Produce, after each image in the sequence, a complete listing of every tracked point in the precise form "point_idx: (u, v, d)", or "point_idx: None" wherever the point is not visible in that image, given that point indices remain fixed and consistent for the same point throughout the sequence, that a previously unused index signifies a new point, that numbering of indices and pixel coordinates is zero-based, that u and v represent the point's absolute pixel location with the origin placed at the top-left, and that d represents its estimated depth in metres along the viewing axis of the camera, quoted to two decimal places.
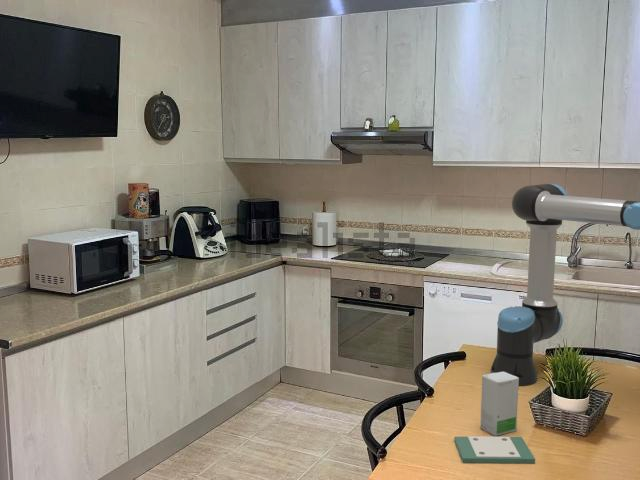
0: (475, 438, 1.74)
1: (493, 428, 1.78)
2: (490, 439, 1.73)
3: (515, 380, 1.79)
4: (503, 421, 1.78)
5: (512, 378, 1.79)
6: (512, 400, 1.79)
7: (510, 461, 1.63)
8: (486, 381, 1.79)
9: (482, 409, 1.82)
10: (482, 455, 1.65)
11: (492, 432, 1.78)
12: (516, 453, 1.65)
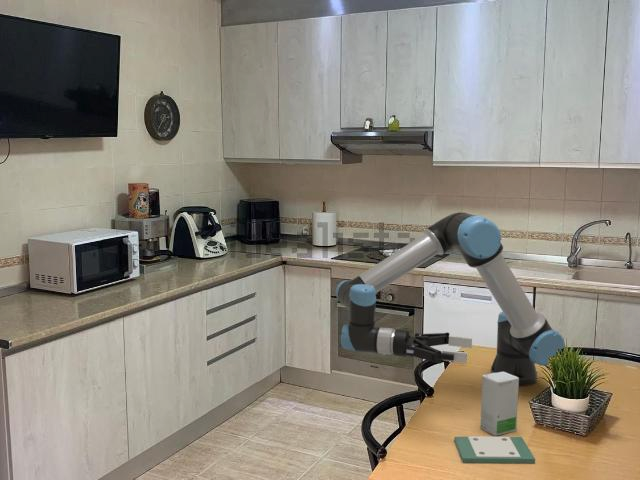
0: (475, 438, 1.74)
1: (493, 428, 1.78)
2: (490, 439, 1.73)
3: (515, 380, 1.79)
4: (503, 421, 1.78)
5: (512, 378, 1.79)
6: (512, 400, 1.79)
7: (510, 461, 1.63)
8: (486, 381, 1.79)
9: (482, 409, 1.82)
10: (482, 455, 1.65)
11: (492, 432, 1.78)
12: (516, 453, 1.65)
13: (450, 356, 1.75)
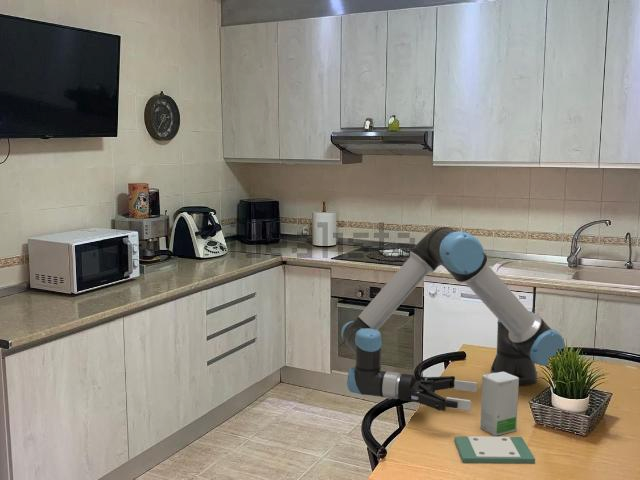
0: (475, 438, 1.74)
1: (493, 428, 1.78)
2: (490, 439, 1.73)
3: (515, 380, 1.79)
4: (503, 421, 1.78)
5: (512, 378, 1.79)
6: (512, 400, 1.79)
7: (510, 461, 1.63)
8: (486, 381, 1.79)
9: (482, 409, 1.82)
10: (482, 455, 1.65)
11: (492, 432, 1.78)
12: (516, 453, 1.65)
13: (454, 404, 1.77)
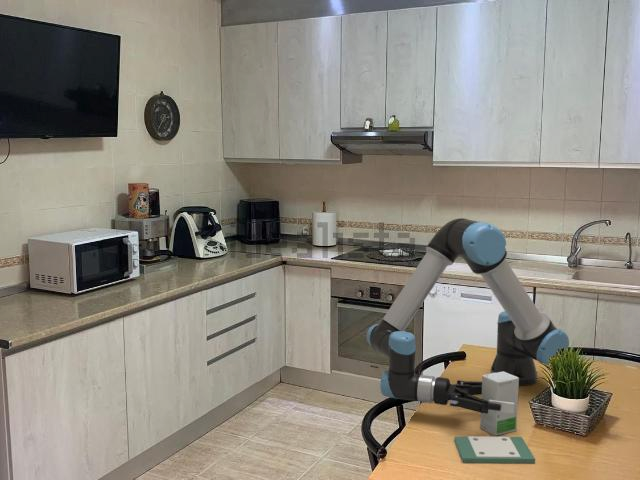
0: (475, 438, 1.74)
1: (493, 428, 1.78)
2: (490, 439, 1.73)
3: (515, 380, 1.79)
4: (503, 421, 1.78)
5: (512, 378, 1.79)
6: (512, 400, 1.79)
7: (510, 461, 1.63)
8: (486, 381, 1.79)
9: None
10: (482, 455, 1.65)
11: (492, 432, 1.78)
12: (516, 453, 1.65)
13: (497, 406, 1.75)
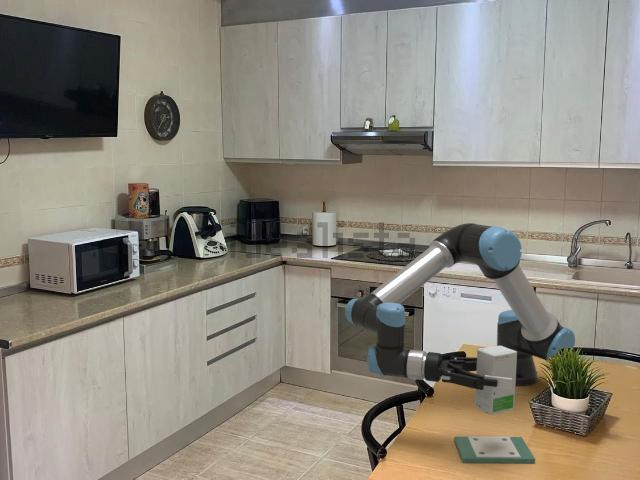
0: (475, 438, 1.74)
1: (488, 407, 1.63)
2: (490, 439, 1.73)
3: (513, 354, 1.64)
4: (500, 399, 1.64)
5: (510, 352, 1.64)
6: (509, 376, 1.64)
7: (510, 461, 1.63)
8: (481, 355, 1.65)
9: None
10: (482, 455, 1.65)
11: (488, 410, 1.64)
12: (516, 453, 1.65)
13: (493, 382, 1.60)
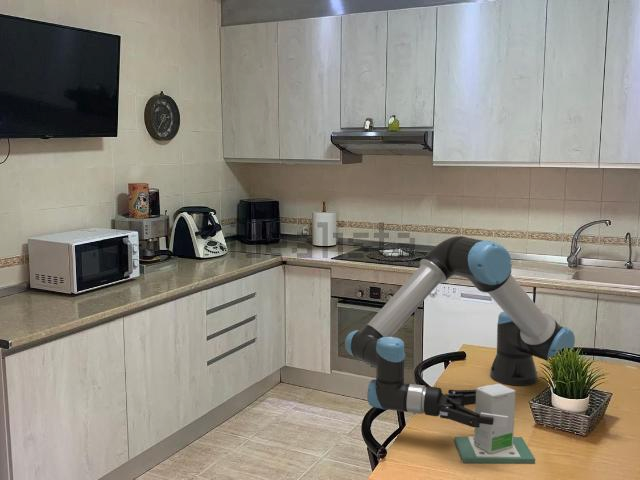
0: None
1: (487, 445, 1.65)
2: None
3: (512, 393, 1.66)
4: (499, 438, 1.66)
5: (508, 391, 1.66)
6: (508, 415, 1.66)
7: (510, 461, 1.63)
8: (480, 394, 1.67)
9: None
10: (482, 455, 1.65)
11: (486, 449, 1.66)
12: (516, 453, 1.65)
13: (489, 420, 1.61)
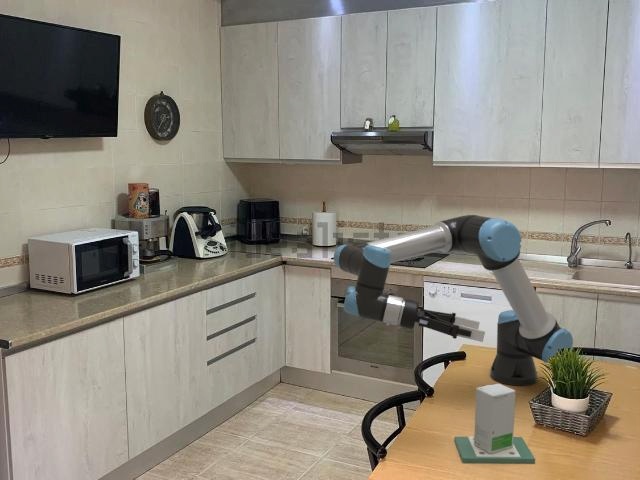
0: None
1: (487, 445, 1.65)
2: None
3: (512, 393, 1.66)
4: (499, 438, 1.66)
5: (508, 391, 1.66)
6: (508, 415, 1.66)
7: (510, 461, 1.63)
8: (480, 394, 1.67)
9: (476, 424, 1.69)
10: (482, 455, 1.65)
11: (486, 449, 1.66)
12: (516, 453, 1.65)
13: (468, 332, 1.64)
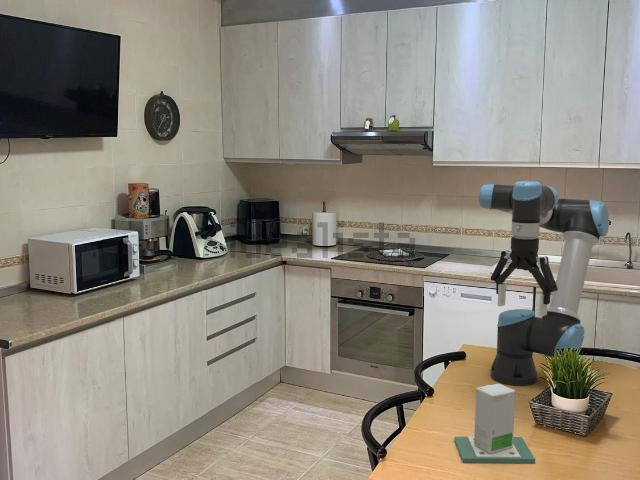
0: None
1: (487, 445, 1.65)
2: None
3: (511, 393, 1.66)
4: (499, 438, 1.66)
5: (508, 391, 1.66)
6: (508, 415, 1.66)
7: (510, 461, 1.63)
8: (480, 394, 1.67)
9: (476, 424, 1.69)
10: (482, 455, 1.65)
11: (486, 449, 1.66)
12: (516, 453, 1.65)
13: (549, 301, 1.80)
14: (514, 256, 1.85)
